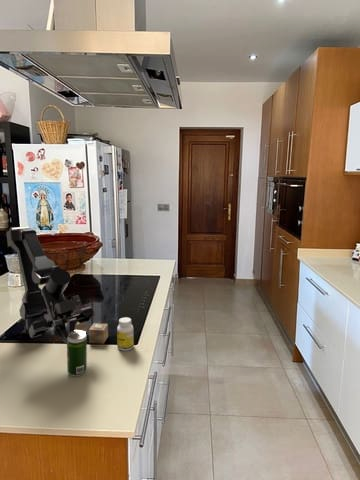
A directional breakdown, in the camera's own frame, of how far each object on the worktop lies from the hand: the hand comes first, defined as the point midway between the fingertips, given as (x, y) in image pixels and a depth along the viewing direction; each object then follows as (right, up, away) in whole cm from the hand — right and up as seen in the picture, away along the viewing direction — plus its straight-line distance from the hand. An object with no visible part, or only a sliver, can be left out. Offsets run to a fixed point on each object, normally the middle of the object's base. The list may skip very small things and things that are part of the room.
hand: (72, 347), depth 99 cm
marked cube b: (-6, -2, +23) cm, 24 cm away
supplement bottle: (+13, -5, +14) cm, 20 cm away
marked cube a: (+3, -3, +19) cm, 19 cm away
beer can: (+1, -7, 0) cm, 7 cm away
